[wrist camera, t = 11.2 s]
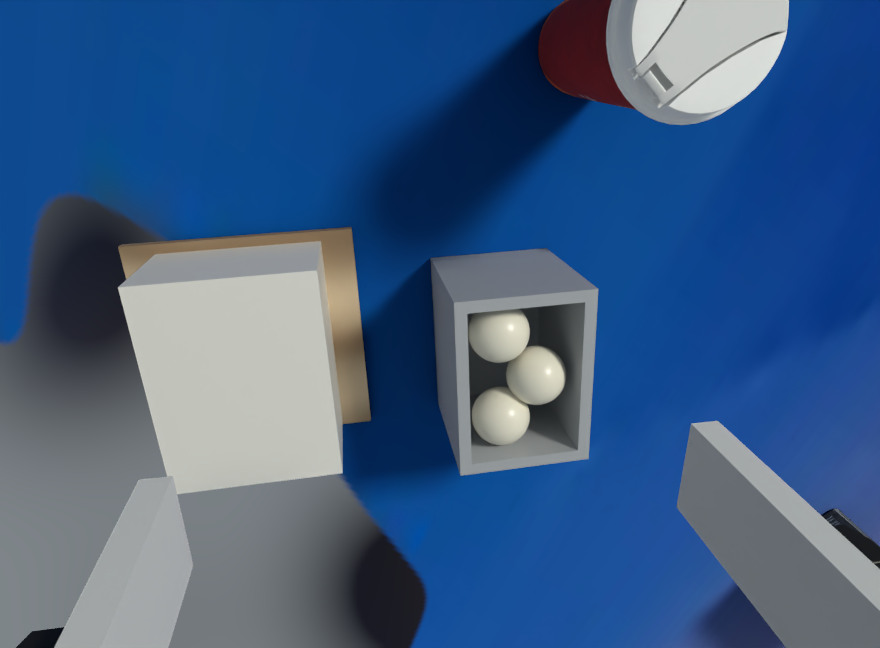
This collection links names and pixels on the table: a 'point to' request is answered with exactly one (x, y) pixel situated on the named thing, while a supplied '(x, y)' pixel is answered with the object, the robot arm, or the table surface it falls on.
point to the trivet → (338, 291)
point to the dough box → (513, 358)
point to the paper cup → (663, 53)
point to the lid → (238, 364)
